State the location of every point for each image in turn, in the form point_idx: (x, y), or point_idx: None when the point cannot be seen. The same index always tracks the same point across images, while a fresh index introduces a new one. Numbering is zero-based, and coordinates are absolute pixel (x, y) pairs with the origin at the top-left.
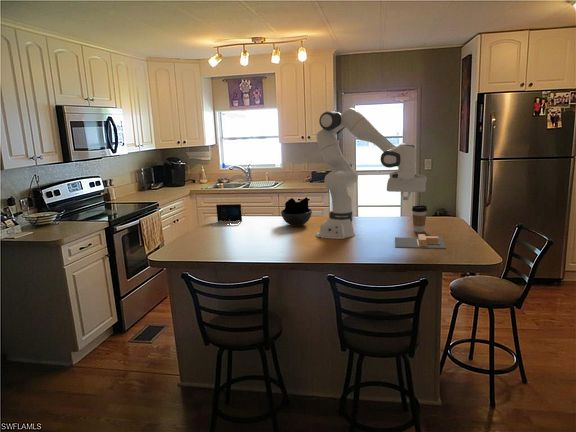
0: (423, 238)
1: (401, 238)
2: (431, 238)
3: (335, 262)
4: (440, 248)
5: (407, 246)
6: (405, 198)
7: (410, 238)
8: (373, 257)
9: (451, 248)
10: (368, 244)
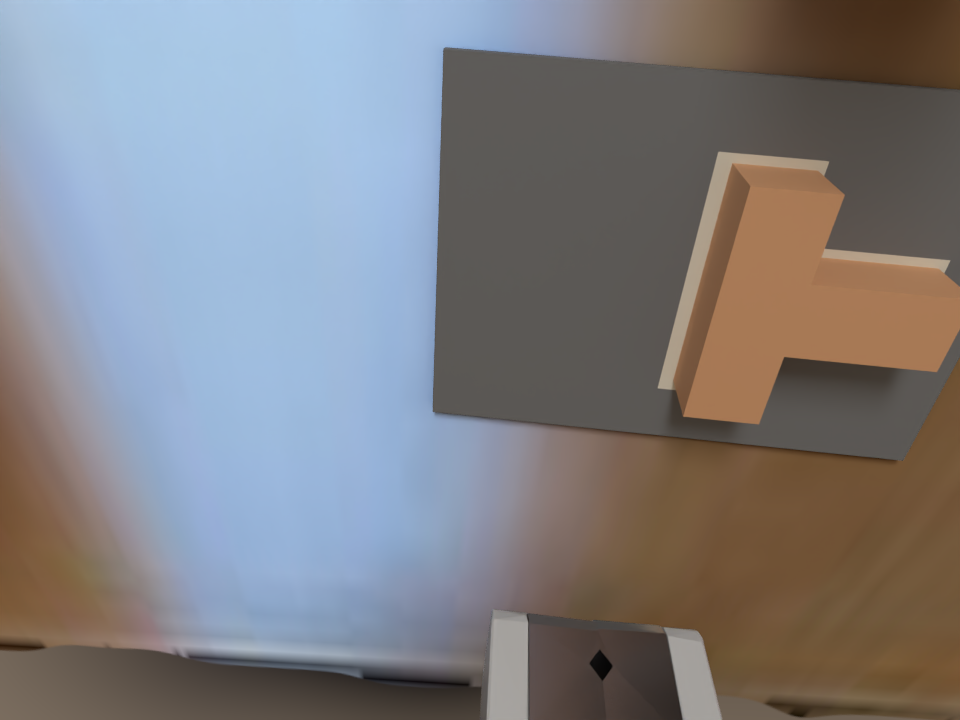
0: (746, 378)
1: (527, 111)
2: (848, 360)
3: (71, 639)
4: (848, 449)
5: (547, 411)
6: (595, 661)
7: (647, 112)
8: (278, 588)
9: (957, 448)
10: (168, 304)
